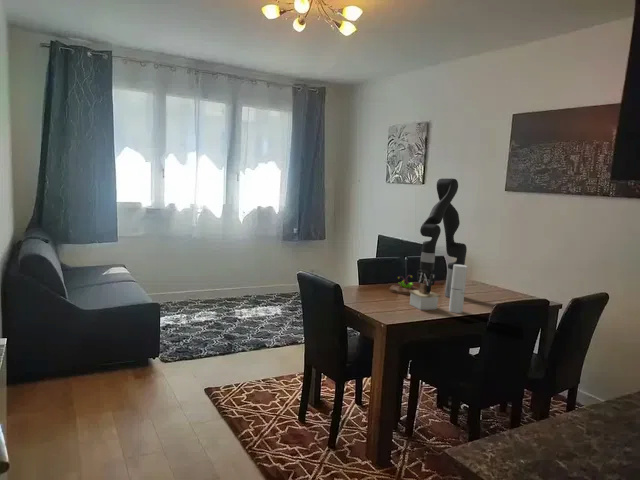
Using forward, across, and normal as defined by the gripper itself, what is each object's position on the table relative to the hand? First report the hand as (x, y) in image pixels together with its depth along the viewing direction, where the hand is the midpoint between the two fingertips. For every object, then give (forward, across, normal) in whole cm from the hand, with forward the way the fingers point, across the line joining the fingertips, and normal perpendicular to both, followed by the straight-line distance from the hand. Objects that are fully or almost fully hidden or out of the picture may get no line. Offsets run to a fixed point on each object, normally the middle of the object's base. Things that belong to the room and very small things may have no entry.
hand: (424, 290), depth 254 cm
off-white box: (+9, 0, 0) cm, 9 cm away
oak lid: (+2, 0, 0) cm, 2 cm away
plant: (+10, +34, -10) cm, 37 cm away
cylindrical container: (+9, -10, -14) cm, 20 cm away
